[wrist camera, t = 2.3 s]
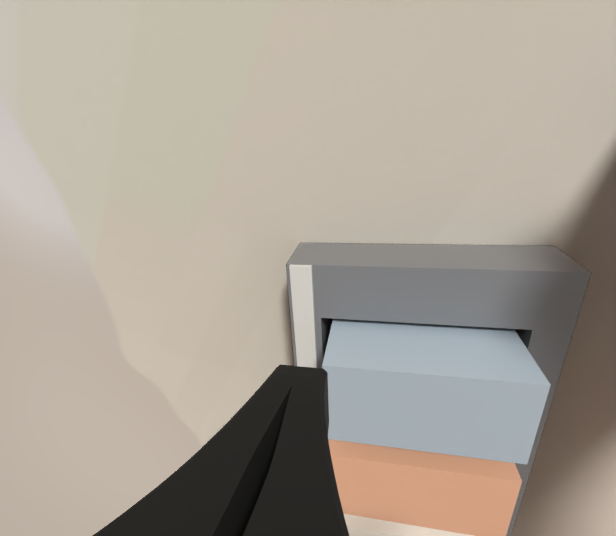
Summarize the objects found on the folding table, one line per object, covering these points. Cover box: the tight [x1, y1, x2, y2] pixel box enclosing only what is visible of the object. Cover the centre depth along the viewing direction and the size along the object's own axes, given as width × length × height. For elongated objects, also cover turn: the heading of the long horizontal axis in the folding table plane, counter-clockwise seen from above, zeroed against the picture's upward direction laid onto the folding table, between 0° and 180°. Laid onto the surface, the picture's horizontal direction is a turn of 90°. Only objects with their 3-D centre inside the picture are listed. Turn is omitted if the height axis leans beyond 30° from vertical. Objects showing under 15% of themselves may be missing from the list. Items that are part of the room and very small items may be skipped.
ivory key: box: [343, 513, 473, 536], centre depth 19 cm, size 8×4×4 cm, turn 92°
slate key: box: [322, 319, 551, 465], centre depth 15 cm, size 8×4×4 cm, turn 92°
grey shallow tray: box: [286, 243, 591, 536], centre depth 19 cm, size 12×20×3 cm, turn 2°
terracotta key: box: [328, 439, 522, 536], centre depth 17 cm, size 8×4×4 cm, turn 92°
